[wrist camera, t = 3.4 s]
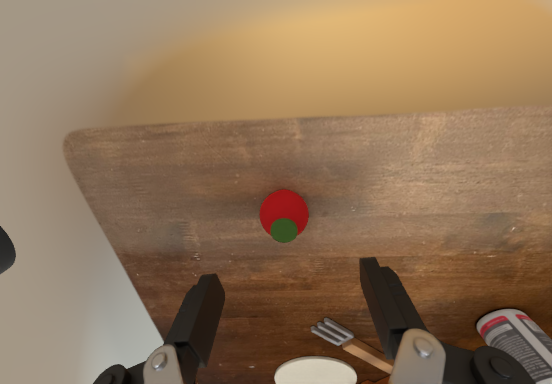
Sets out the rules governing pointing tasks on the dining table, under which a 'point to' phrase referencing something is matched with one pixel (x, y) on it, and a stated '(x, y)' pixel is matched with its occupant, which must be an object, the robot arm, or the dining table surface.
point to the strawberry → (284, 215)
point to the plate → (315, 371)
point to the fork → (352, 344)
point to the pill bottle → (519, 341)
